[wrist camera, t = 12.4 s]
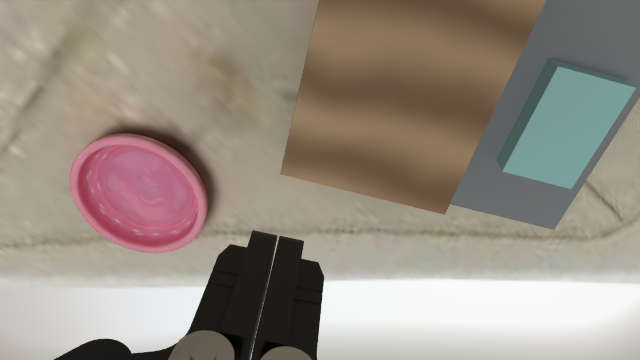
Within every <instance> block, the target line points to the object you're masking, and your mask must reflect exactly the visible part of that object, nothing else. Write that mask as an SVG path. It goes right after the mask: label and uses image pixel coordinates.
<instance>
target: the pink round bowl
mask: <svg viewBox="0 0 640 360" xmlns="http://www.w3.org/2000/svg"><path fill="white" fill-rule="evenodd" d="M70 187H71V192H72V196H73V198H74V201H75V203H76V205H77V207H78V209H79V211H80V212H81V214H82V215H83V217H84V218H85V219H86V220H87V222H88V223H89V224H90V225H91V226H92V227H93V228H94V229H95V230H96V231H97V232H99V233H100V234H101V235H103V236H104V237H106V238H107V239H109V240H111V241H112V242H114V243H116V244H119V245H121V246H123V247H126V248H129V249H132V250H136V251H141V252H148V253H162V252H169V251H173V250H176V249H179V248H181V247H183V246H185V245H187V244H188V243H190V242H191V241H192V240H193V239H194V238H195V237H196V236H197V235H198V234H199V232H200V231H201V229H202V227H203V225H204V223H205V220H206V217H207V213H208V199H207V193H206V190H205V187H204V184H203V182H202V180H201V178H200V177H199V175H198V173H197V172H196V170H195V169H194V168H193V166H192V165H191V164H190V163H189V162H188V161H187V160H186V159H185V158H184V157H183V156H182V155H181V154H179V153H178V152H177V151H176V150H174V149H173V148H171V147H169V146H168V145H166V144H164V143H162V142H160V141H157V140H155V139H152V138H150V137H146V136H143V135H137V134H128V133H120V134H112V135H108V136H104V137H101V138H99V139H97V140H95V141H93V142H92V143H90V144H89V145H87V146H86V147H85V148H84V149H83V150H82V151H81V152H80V153H79V154H78V156H77V157H76V159H75V160H74V162H73V165H72V168H71V173H70Z"/></svg>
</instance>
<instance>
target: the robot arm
mask: <svg viewBox="0 0 640 360" xmlns="http://www.w3.org/2000/svg"><path fill="white" fill-rule="evenodd" d="M276 241H277V235H273V234H268V233H263V232H259V231H254V230H253V231H252V234H251V237H250V240H249V243H248V247H247V248H246V247H241V246H236V245H231V244H230V245H229V246H228V247H227V248H226V249H225V250H224V251H223V252H222V253H220V254H219V255H218V258H217V260H216V263H215V265H214V268H213V271H212V273H211V276H210V278H209V281H208V284H207V286H206V288H205V291H204V294H203V297H202V299H201V302H200V304H199V307H198V309H197V312H196V314H195V317H194V319H193V322H192V324H191V327H190V329H189V331H188V333H187V334H186V335H185V336H184V337H183V338H182V339H181V340H180V341H179V342H178V343H176V344H174V345H173V346H171V347H169V348H167V349H163V350H159V351H154V352H144V353H133V354H131V351H130V350H129V348H128V347H127V346H126V345H124V344H123V343H121V342H119V341H116V340H113V339H97V340H93V341H90V342H87V343H85V344H82V345H80V346H79V347H77V348H75V349H73V350H71V351H69V352H67V353H65V354H63V355H62V356H60V357H58V358H56V359H54V360H250V357H251V353H252V358H251V360H317V342H318V333H319V322H320V313H321V303H322V292H323V283H324V275H323V273H322V270H321V268H320V265H319V263H318V262H314V261H309V260H304V259H301V256H302V250H303V244H304V241H302V240H297V239H293V238H288V237H283V236H279V240H278V245H277V249H276V253H275V257H274V262H273V266H272V261H273V256H274V251H275V246H276ZM271 266H272V270H271ZM270 271H271V274H270ZM269 276H270V278H269ZM268 281H269V283H268ZM267 285H268V287H267ZM266 290H267V291H266ZM265 294H266V295H265ZM264 298H265V299H264ZM263 302H264V304H263ZM262 307H263V308H262ZM261 311H262V312H261ZM260 315H261V316H260ZM259 319H260V320H259ZM258 323H259V325H258ZM257 328H258V329H257ZM256 332H257V333H256ZM255 336H256V337H255ZM254 340H255V342H254ZM253 344H254V348H253ZM252 349H253V352H252Z"/></svg>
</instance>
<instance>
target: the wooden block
mask: <svg viewBox="0 0 640 360" xmlns="http://www.w3.org/2000/svg"><path fill="white" fill-rule="evenodd" d="M545 2H546V0H319V4H318V8H317V13H316V17H315V22H314V26H313V30H312V35H311V39H310V44H309V48H308V53H307V57H306V62H305V66H304V70H303V75H302V79H301V84H300V88H299V93H298V97H297V102H296V106H295V110H294V115H293V119H292V124H291V128H290V133H289V137H288V141H287V146H286V150H285V155H284V159H283V164H282V168H281V173H280V174H281V175H285V176H290V177H294V178H298V179H302V180H306V181H310V182H314V183H318V184H322V185H326V186H330V187H334V188H339V189H343V190H347V191H351V192H355V193H359V194H363V195H367V196H371V197H375V198H379V199H384V200H388V201H392V202H396V203H400V204H404V205H408V206H412V207H416V208H420V209H424V210H428V211H433V212H437V213H441V214H445V213H446V211H447V209H448V207H449V205H450V202H451V200H452V198H453V196H454V194H455V192H456V190H457V188H458V186H459V184H460V181H461V179H462V177H463V175H464V173H465V171H466V169H467V167H468V165H469V162H470V160H471V158H472V156H473V154H474V152H475V150H476V148H477V146H478V143H479V141H480V139H481V137H482V135H483V133H484V131H485V129H486V127H487V124H488V122H489V120H490V118H491V116H492V114H493V112H494V110H495V108H496V106H497V103H498V101H499V99H500V97H501V95H502V93H503V91H504V89H505V87H506V84H507V82H508V80H509V78H510V76H511V74H512V72H513V70H514V68H515V65H516V63H517V61H518V59H519V57H520V55H521V53H522V51H523V49H524V47H525V44H526V42H527V40H528V38H529V36H530V34H531V32H532V30H533V28H534V25H535V23H536V21H537V19H538V17H539V15H540V13H541V11H542V9H543V6H544V4H545Z"/></svg>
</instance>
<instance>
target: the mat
mask: <svg viewBox="0 0 640 360" xmlns="http://www.w3.org/2000/svg"><path fill="white" fill-rule="evenodd" d="M548 58H549V59H553V60H556V61H560V62H564V63H567V64H571V65H575V66H578V67H582V68H586V69H589V70H593V71H597V72H600V73H604V74H607V75H611V76H615V77H618V78H622V79H624V80H625V81H627V82H628V83H630V84H631V85H633V86H634V87H636V89H635V91H634V92H633V94H632V95H631V97H630V98H629V100H628V102H627V103H626V105H625V106H624V108H623V109H622V111H621V113H620V114H619V116H618V117H617V119H616V120H615V122H614V123H613V125H612V127H611V128H610V130H609V131H608V133H607V134H606V136H605V137H604V139H603V141H602V142H601V144H600V145H599V147H598V148H597V150H596V152H595V153H594V155H593V156H592V158H591V159H590V161H589V162H588V164H587V166H586V167H585V169H584V170H583V172H582V173H581V175H580V177H579V178H578V180H577V181H576V183H575V184H574V186H573V187H572V189H569V188H565V187H561V186H557V185H553V184H549V183H545V182H541V181H537V180H534V179H530V178H526V177H522V176H518V175H514V174H510V173H506V172H502V170H501V168H500V166H499V164H498V162H497V160H496V159H497V157H498V155H499V153H500V151H501V149H502V147H503V146H504V144H505V142H506V140H507V138H508V136H509V134H510V132H511V130H512V128H513V126H514V124H515V122H516V120H517V118H518V116H519V114H520V113H521V111H522V109H523V107H524V105H525V103H526V101H527V99H528V97H529V95H530V93H531V91H532V89H533V87H534V85H535V83H536V81H537V80H538V78H539V76H540V74H541V72H542V70H543V68H544V66H545V64H546V62H547V60H548ZM639 97H640V0H546V2H545V4H544V6H543V9H542V11H541V13H540V15H539V17H538V19H537V21H536V23H535V25H534V28H533V30H532V32H531V34H530V36H529V38H528V40H527V42H526V44H525V47H524V49H523V51H522V53H521V55H520V57H519V59H518V61H517V63H516V65H515V68H514V70H513V72H512V74H511V76H510V78H509V80H508V82H507V84H506V87H505V89H504V91H503V93H502V95H501V97H500V99H499V101H498V103H497V106H496V108H495V110H494V112H493V114H492V116H491V118H490V120H489V122H488V124H487V127H486V129H485V131H484V133H483V135H482V137H481V139H480V141H479V143H478V146H477V148H476V150H475V152H474V154H473V156H472V158H471V160H470V162H469V165H468V167H467V169H466V171H465V173H464V175H463V177H462V179H461V181H460V184H459V186H458V188H457V190H456V192H455V194H454V196H453V198H452V200H451V202H450V204H452V205H456V206H461V207H465V208H469V209H473V210H477V211H481V212H485V213H489V214H493V215H497V216H501V217H505V218H509V219H513V220H517V221H521V222H525V223H530V224H534V225H538V226H542V227H546V228H550V229H555V227H556V226H557V224H558V223H559V221H560V220H561V218H562V216H563V215H564V213H565V212H566V210H567V209H568V207H569V206H570V204H571V202H572V201H573V199H574V198H575V196H576V195H577V193H578V192H579V190H580V189H581V187H582V185H583V184H584V182H585V181H586V179H587V178H588V176H589V175H590V173H591V171H592V170H593V168H594V167H595V165H596V164H597V162H598V161H599V159H600V158H601V156H602V154H603V153H604V151H605V150H606V148H607V147H608V145H609V144H610V142H611V140H612V139H613V137H614V136H615V134H616V133H617V131H618V130H619V128H620V126H621V125H622V123H623V122H624V120H625V119H626V117H627V116H628V114H629V113H630V111H631V109H632V108H633V106H634V105H635V103H636V102H637V100H638V99H639Z"/></svg>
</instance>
